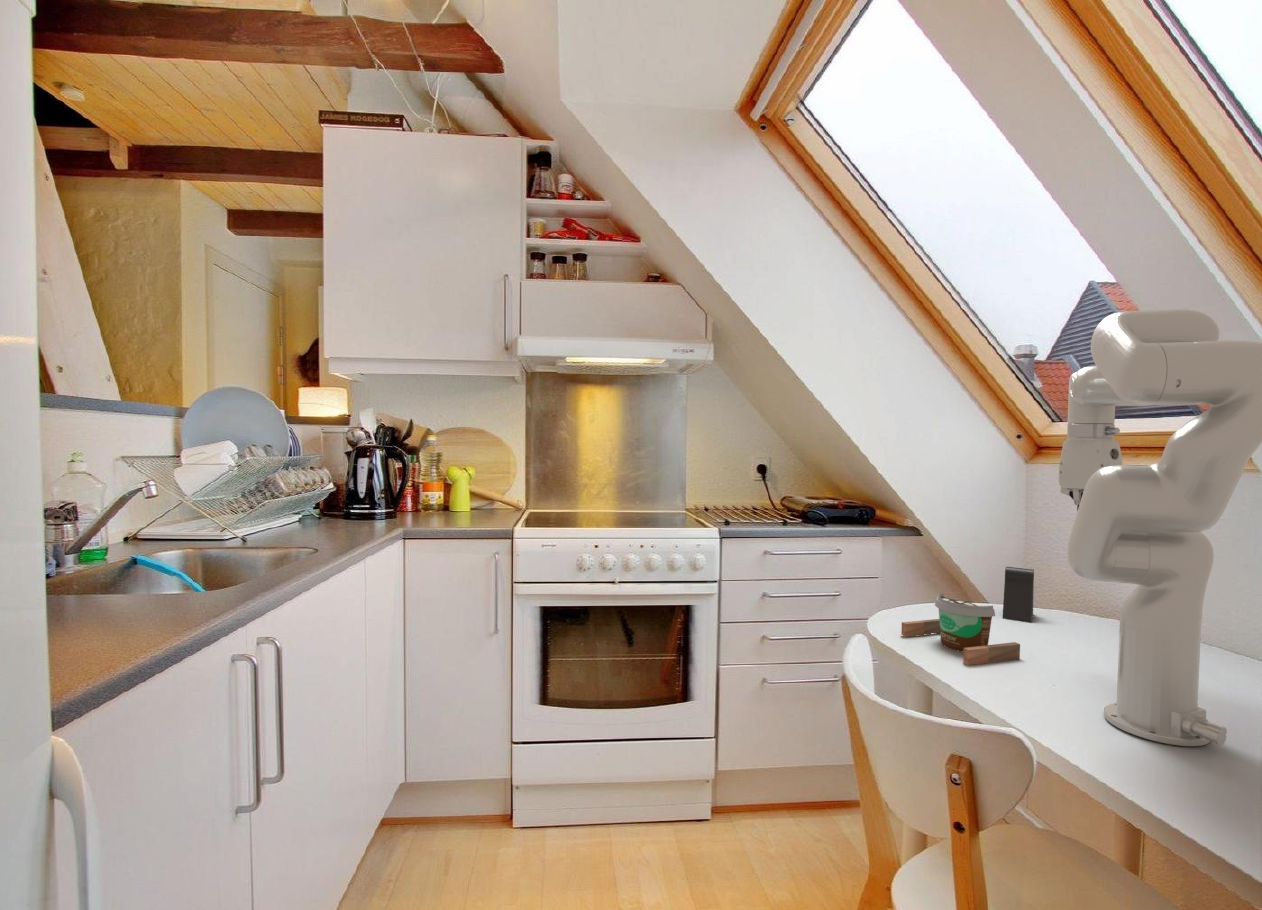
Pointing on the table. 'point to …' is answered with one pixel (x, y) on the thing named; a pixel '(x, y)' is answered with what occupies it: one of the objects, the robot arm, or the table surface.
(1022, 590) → the phone stand
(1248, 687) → the table surface
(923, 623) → the lane walls
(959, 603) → the food container
